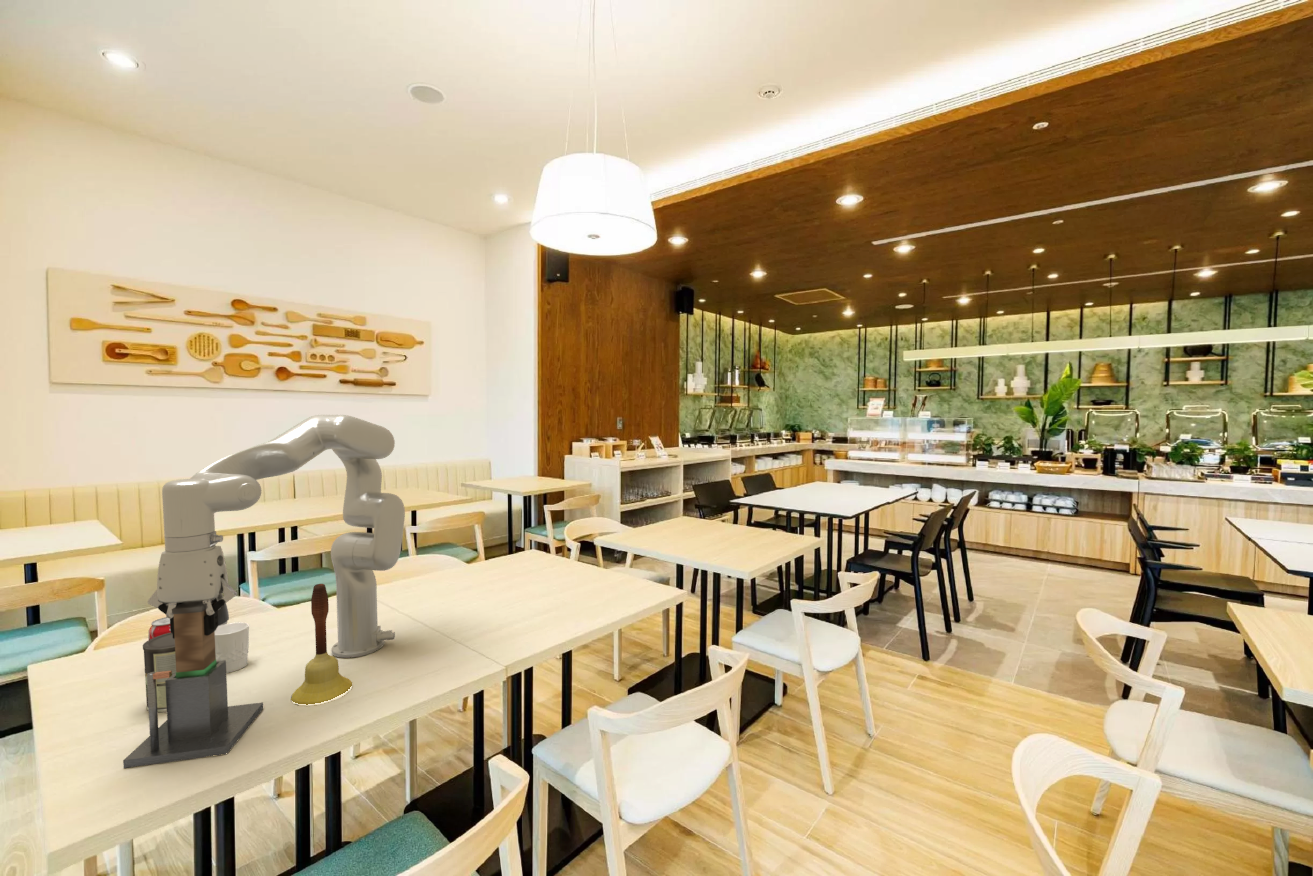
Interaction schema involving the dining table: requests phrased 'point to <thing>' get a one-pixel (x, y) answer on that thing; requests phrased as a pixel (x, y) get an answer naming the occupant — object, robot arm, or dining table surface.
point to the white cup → (232, 645)
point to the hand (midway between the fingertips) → (195, 633)
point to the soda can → (159, 627)
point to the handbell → (321, 660)
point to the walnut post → (192, 640)
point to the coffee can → (159, 664)
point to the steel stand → (192, 719)
